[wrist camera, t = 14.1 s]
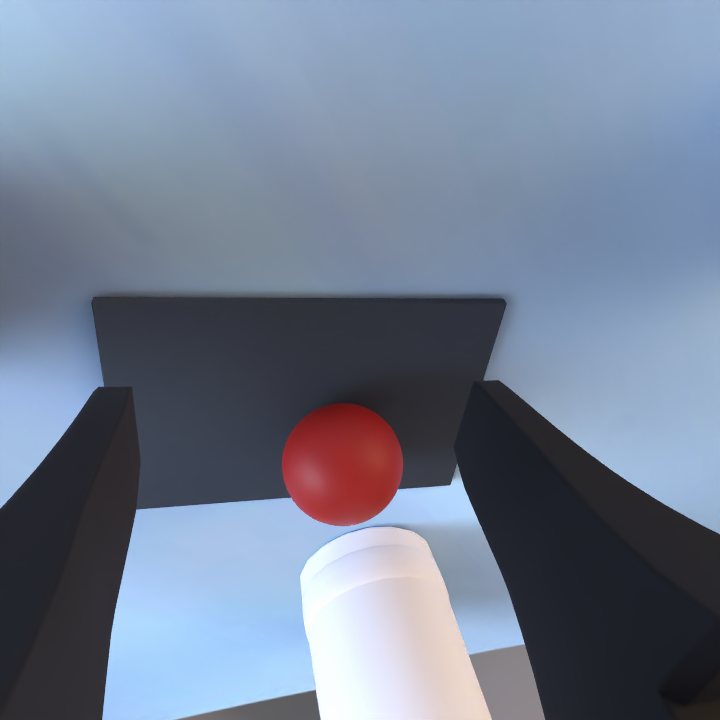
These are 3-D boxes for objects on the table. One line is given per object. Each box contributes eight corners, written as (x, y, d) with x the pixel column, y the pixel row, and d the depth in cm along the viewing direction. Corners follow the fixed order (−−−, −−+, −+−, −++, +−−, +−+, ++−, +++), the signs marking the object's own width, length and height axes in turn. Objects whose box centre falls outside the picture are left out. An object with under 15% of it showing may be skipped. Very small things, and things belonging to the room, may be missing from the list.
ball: (278, 470, 28) (279, 554, 23) (283, 378, 25) (286, 453, 21) (384, 470, 29) (404, 551, 24) (398, 381, 26) (424, 454, 22)
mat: (123, 504, 28) (123, 510, 27) (92, 296, 21) (91, 302, 21) (448, 479, 31) (450, 485, 31) (503, 298, 25) (507, 303, 25)
